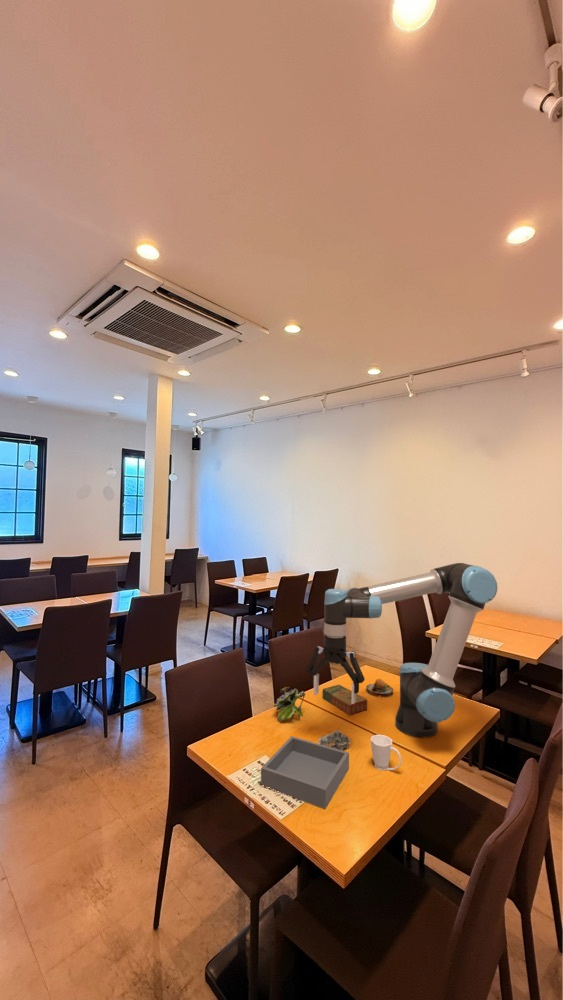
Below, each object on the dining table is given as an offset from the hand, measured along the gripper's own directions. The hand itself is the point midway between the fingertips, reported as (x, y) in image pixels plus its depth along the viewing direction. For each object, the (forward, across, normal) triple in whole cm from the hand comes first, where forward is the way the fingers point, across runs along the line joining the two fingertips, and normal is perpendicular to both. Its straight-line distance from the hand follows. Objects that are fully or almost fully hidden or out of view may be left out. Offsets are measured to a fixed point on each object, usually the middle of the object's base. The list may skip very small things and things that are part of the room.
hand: (334, 698), depth 140 cm
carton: (+17, +8, -33) cm, 38 cm away
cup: (+17, -18, +3) cm, 25 cm away
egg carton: (+17, 0, 0) cm, 17 cm away
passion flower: (+17, +23, -13) cm, 31 cm away
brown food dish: (+17, -2, -53) cm, 56 cm away
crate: (+16, +2, +19) cm, 25 cm away
